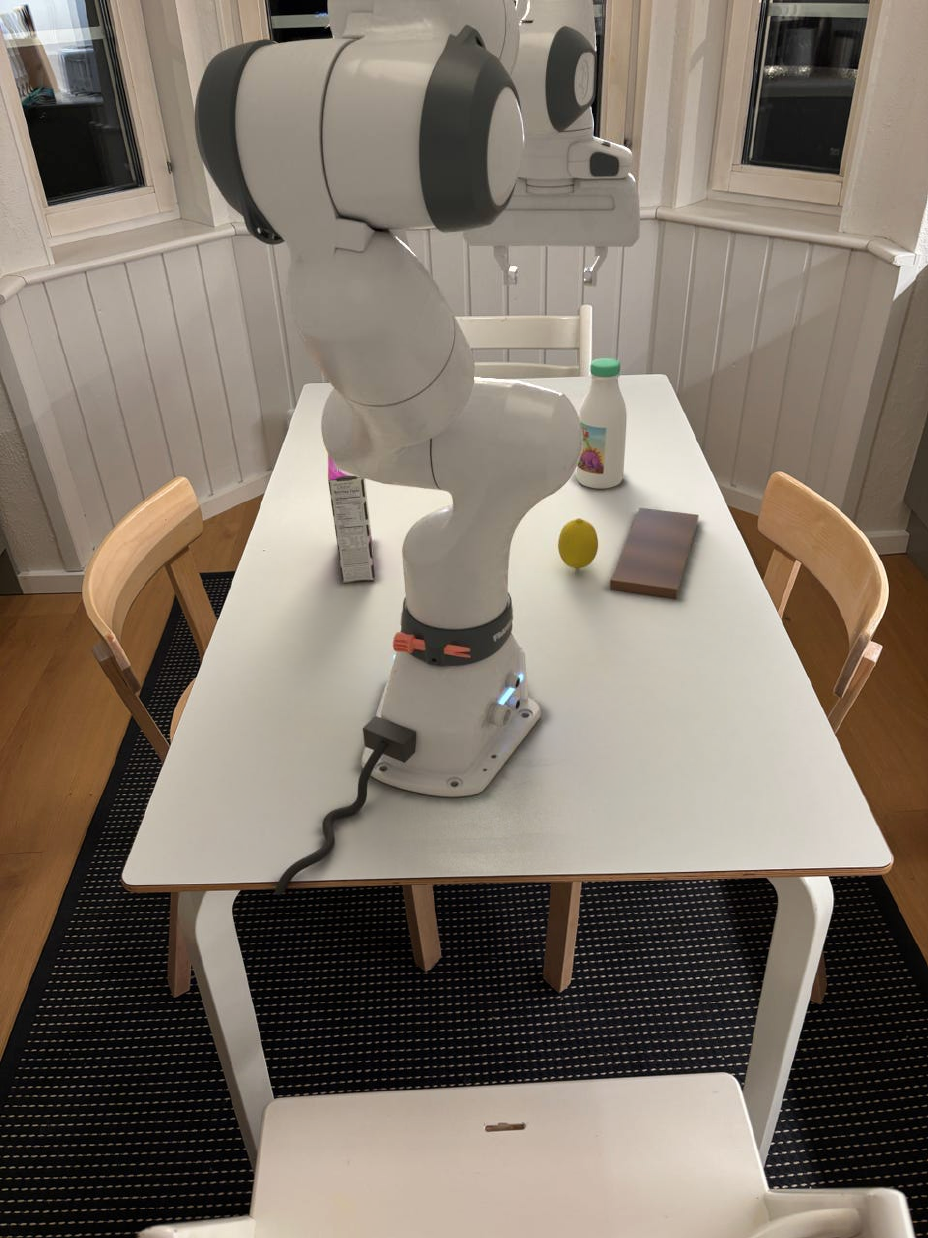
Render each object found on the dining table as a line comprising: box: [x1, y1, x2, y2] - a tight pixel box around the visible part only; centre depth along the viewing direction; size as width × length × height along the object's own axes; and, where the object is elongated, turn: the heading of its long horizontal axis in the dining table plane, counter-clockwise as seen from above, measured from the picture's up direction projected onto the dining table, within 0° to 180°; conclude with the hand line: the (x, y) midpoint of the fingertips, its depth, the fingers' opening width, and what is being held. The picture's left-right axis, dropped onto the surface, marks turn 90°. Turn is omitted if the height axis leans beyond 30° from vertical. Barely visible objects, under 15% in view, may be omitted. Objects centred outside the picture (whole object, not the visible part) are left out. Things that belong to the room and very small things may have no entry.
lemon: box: [557, 517, 599, 570], centre depth 133 cm, size 6×6×8 cm
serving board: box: [609, 507, 699, 600], centre depth 137 cm, size 22×9×2 cm, turn 161°
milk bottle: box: [575, 357, 628, 489], centre depth 153 cm, size 8×8×20 cm
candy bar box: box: [327, 454, 376, 584], centre depth 134 cm, size 11×5×16 cm, turn 7°
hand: (549, 284), depth 113 cm, fingers open, 8 cm apart
